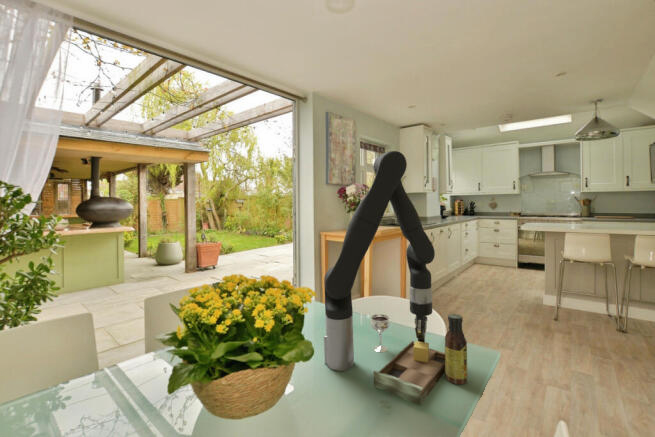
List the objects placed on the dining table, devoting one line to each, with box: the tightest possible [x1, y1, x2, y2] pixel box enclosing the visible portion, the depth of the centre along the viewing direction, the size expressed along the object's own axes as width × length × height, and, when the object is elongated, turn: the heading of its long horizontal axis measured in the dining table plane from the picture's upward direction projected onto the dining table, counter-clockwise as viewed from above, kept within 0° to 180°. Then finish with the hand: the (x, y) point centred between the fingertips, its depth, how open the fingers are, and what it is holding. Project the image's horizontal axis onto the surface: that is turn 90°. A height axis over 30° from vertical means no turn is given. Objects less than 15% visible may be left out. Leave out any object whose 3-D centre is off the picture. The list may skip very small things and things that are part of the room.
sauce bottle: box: [444, 313, 468, 385], centre depth 93 cm, size 6×6×20 cm
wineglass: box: [370, 313, 390, 353], centre depth 113 cm, size 7×7×12 cm
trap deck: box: [372, 340, 445, 406], centre depth 98 cm, size 14×28×4 cm, turn 141°
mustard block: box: [414, 340, 430, 362], centre depth 103 cm, size 4×4×4 cm
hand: (421, 347), depth 107 cm, fingers closed
